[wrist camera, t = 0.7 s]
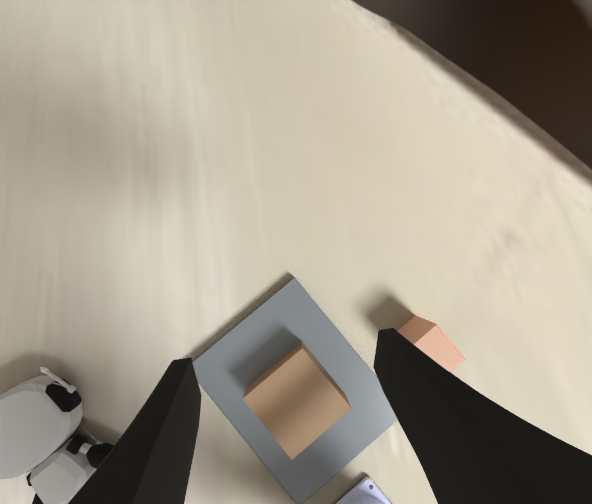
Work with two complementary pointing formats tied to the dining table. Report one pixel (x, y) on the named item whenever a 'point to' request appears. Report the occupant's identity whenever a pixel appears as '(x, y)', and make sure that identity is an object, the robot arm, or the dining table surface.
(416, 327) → the terracotta brick
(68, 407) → the robot toy
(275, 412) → the walnut block
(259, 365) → the baseplate
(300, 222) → the dining table surface
